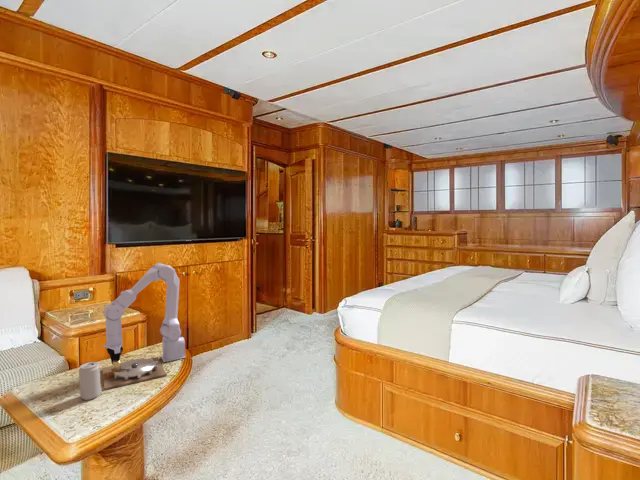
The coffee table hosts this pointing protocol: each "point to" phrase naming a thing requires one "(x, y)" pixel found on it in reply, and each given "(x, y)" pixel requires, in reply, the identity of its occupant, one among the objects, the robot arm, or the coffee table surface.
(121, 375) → the sprocket wheel
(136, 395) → the coffee table surface
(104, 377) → the walnut board
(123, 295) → the robot arm
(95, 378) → the beverage can
